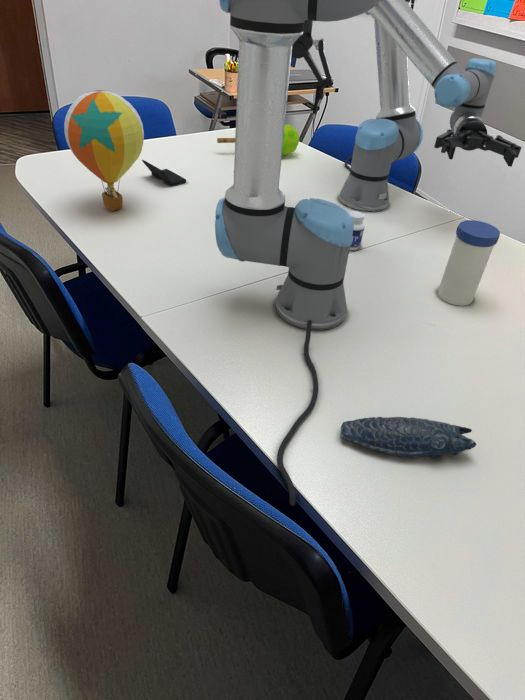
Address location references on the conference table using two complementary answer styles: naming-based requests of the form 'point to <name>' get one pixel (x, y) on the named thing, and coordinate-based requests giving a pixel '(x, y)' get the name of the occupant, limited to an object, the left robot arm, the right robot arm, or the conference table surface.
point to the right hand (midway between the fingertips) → (482, 157)
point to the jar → (463, 272)
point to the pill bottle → (357, 229)
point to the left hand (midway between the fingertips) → (288, 109)
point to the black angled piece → (165, 175)
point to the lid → (477, 233)
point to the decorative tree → (288, 141)
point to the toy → (105, 138)
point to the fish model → (407, 436)
